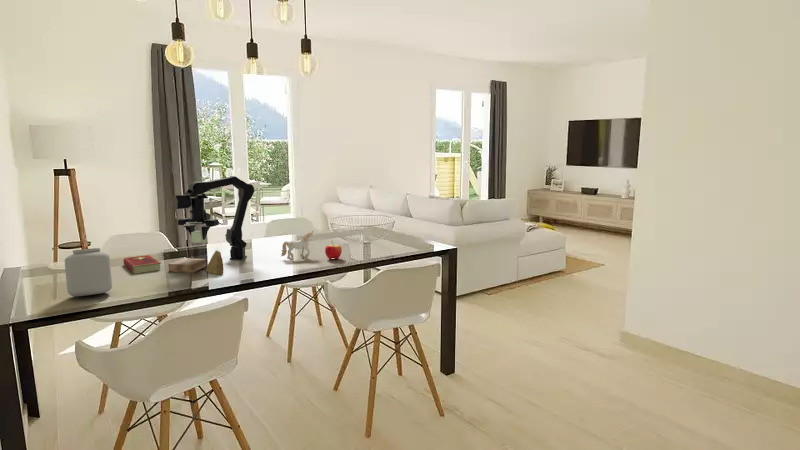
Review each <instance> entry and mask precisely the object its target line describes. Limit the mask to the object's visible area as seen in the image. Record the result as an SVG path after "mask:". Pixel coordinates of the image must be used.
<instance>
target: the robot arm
mask: <svg viewBox="0 0 800 450" xmlns="http://www.w3.org/2000/svg"><path fill="white" fill-rule="evenodd" d="M226 186H233V187H234V188H236V189H237V190H238V202H237V205H236V209H235V210H236V211H235V214H234V218H233V221H232V224H231V227H230V228H226V234H225V235H224V236H225V241H226V242H227V243H228V244H229V246H230V250H229V254H230V258H229V260H239V261H241V260H244V259H246V258H247V257H248V256H247V255H246V246H247V245H248V244H247V242H245V241H244V240H243V231H242V227H243V225H244V220H245V216H246V212H247V208H248V205H249V202H250V200H251V199H252V197H253V195H254V193H255V191H256V190H255V186H254V185H253V184H251V183H247V182H246V181H243V180H242V179H240V178H238V177H237V176H235V175H230V176H227V177H223V178H219V179H213V180H209V181H192V182H191V183H189V186H188V189H187V191H186V192H185V193H184V194H175V195H174V199H173V207H174V209H175V210H189V208H190V207H191V209H190V210H189V213H190V214H191V218H190V217H183V218H178V220H177V225H178V226H183V228H185V229H186V230H187V231H188V233H189V235H190V236H191V232H194V231H196V229H195V227H196V225H203V226H201V231H202V236H203V240H205V238H206V237H207V235H208V231H209V230H210V228H212V227H216V226H219V225H220V221H219V219H217V218H215V219H213V218H211V217H212V214H210V213H208V212H207V210H206V209H205V201H204V200H205V199H208V198H209V196H207V195H206V194H205V193H208V191H211V190H213V189H214V190H215V189H219V188H221V187H222V188H223V187H226Z"/></svg>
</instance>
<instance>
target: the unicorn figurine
mask: <svg viewBox="0 0 800 450" xmlns="http://www.w3.org/2000/svg"><path fill="white" fill-rule="evenodd" d="M313 235H314V230H312V231H309V232H307V233H306V234H305V235H304V236H303V237H302V238H301V239H300V240H290V241H287V240H286V241H284V242H283V243H282V250H281V254H280V257H284V256H286V254H287V256H286V259H287V260H290V261H293V258H294V253H293V250H294V249H295V250H301V253H300V258H303V259H304V258H305V260H308V258H309V257H310V252H311V251H310V249H309V248H308V247H309V242H311V241H312V237H313ZM287 248H288V250H287ZM304 251H306V252H307V253H306V254H305V255H304Z"/></svg>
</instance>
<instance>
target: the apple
mask: <svg viewBox="0 0 800 450" xmlns="http://www.w3.org/2000/svg"><path fill="white" fill-rule="evenodd" d="M331 243H332V244H330V245H329V244H328V245H326V246H325V248H324V251H325V252H324V253H325V255H326V258H328V259H329V260H333V261H335V260H338V259H339V258H340V257H341V254H342V252H343V251H342V246H341V245H340V244H334V242H333V241H331ZM331 258H335V259H331Z"/></svg>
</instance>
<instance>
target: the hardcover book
mask: <svg viewBox="0 0 800 450" xmlns="http://www.w3.org/2000/svg"><path fill="white" fill-rule="evenodd" d="M161 264H162V263H161V261H160V260H158V259H157V258H156V257H154V256H152V255H151V254H145V255H137V256H128V257H123V265H124V266H125V267H126V268H127V269H128V271H130V272H131V273H132V274H139V273H146V272H155V271H160V270H161Z"/></svg>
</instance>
